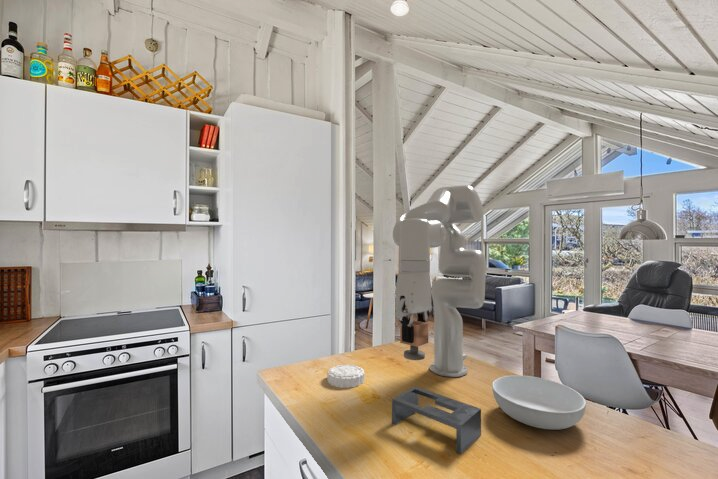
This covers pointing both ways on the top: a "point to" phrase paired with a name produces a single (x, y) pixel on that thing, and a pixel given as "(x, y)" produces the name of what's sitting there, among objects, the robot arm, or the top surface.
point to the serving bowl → (539, 401)
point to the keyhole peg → (416, 340)
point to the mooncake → (346, 376)
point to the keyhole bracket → (441, 414)
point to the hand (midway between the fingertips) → (414, 339)
